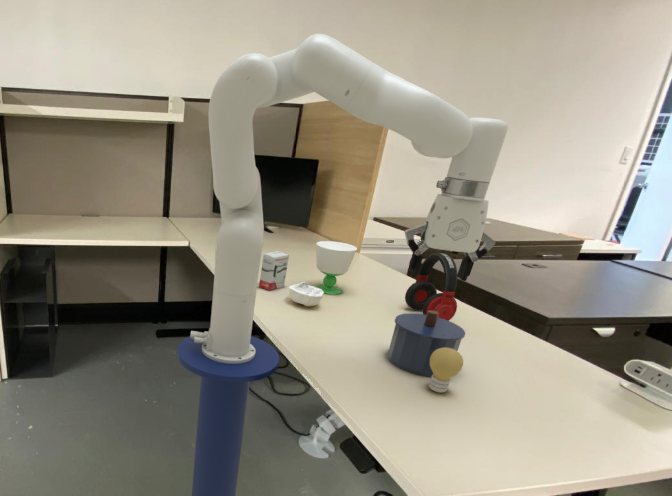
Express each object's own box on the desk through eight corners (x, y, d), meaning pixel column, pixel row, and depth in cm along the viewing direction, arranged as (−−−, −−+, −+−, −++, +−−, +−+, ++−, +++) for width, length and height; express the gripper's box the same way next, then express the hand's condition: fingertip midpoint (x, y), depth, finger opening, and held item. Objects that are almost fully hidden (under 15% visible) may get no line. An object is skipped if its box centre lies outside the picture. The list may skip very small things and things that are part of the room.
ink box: (269, 291, 158) (274, 256, 153) (258, 287, 161) (262, 253, 157) (284, 286, 164) (289, 253, 159) (273, 283, 167) (278, 250, 162)
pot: (396, 372, 109) (406, 336, 105) (381, 346, 122) (390, 313, 118) (460, 380, 108) (472, 343, 104) (438, 352, 122) (448, 319, 118)
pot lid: (404, 339, 105) (409, 320, 103) (387, 314, 119) (391, 297, 117) (475, 346, 104) (481, 328, 102) (449, 321, 118) (454, 304, 116)
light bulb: (440, 382, 107) (452, 342, 102) (459, 396, 101) (473, 355, 97) (415, 383, 105) (427, 343, 101) (433, 398, 100) (447, 356, 95)
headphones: (398, 306, 154) (414, 246, 146) (427, 307, 155) (444, 248, 146) (423, 327, 138) (442, 261, 130) (455, 328, 139) (476, 263, 130)
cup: (356, 293, 163) (366, 249, 156) (329, 298, 156) (338, 252, 149) (326, 282, 173) (334, 239, 166) (300, 286, 166) (307, 242, 159)
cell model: (300, 312, 142) (304, 291, 139) (281, 298, 152) (284, 278, 149) (328, 310, 145) (332, 289, 142) (307, 297, 155) (311, 277, 152)
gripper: (424, 186, 86) (399, 276, 93) (521, 197, 85) (488, 287, 92) (412, 182, 93) (390, 266, 100) (501, 192, 92) (472, 276, 99)
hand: (437, 276), depth 96 cm, fingers open, 9 cm apart
